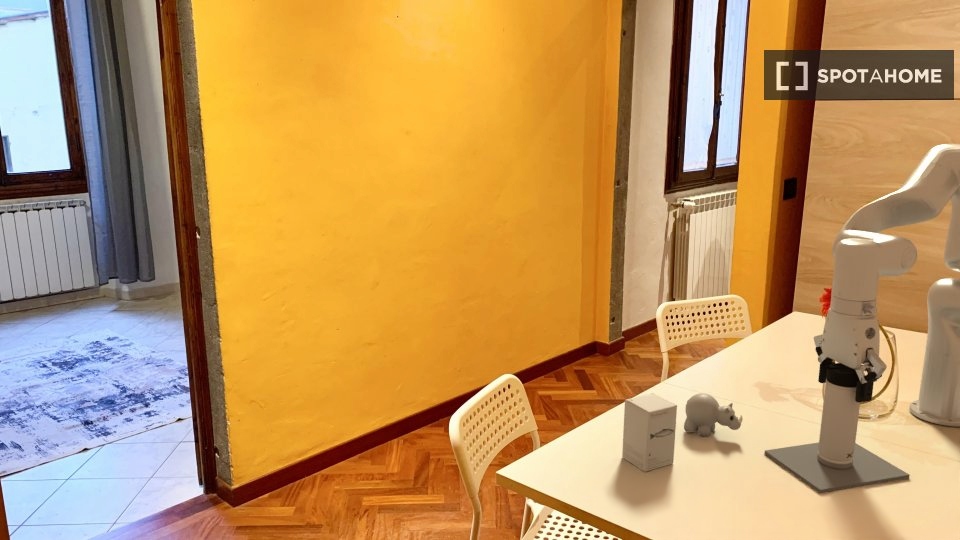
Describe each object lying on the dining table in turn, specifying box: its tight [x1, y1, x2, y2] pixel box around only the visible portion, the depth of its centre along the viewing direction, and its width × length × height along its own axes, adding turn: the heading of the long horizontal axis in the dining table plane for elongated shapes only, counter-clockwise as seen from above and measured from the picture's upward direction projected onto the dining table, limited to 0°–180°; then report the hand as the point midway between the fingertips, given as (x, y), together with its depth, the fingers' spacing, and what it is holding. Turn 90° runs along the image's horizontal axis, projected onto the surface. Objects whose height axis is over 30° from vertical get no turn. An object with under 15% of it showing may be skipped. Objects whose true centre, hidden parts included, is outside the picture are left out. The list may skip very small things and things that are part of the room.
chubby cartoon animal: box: [683, 393, 743, 437], centre depth 157 cm, size 7×12×8 cm, turn 54°
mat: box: [763, 441, 910, 494], centre depth 144 cm, size 20×16×1 cm
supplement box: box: [621, 393, 678, 473], centre depth 145 cm, size 7×7×13 cm
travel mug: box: [817, 362, 867, 469], centre depth 142 cm, size 6×7×20 cm
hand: (844, 391), depth 141 cm, fingers open, 9 cm apart
